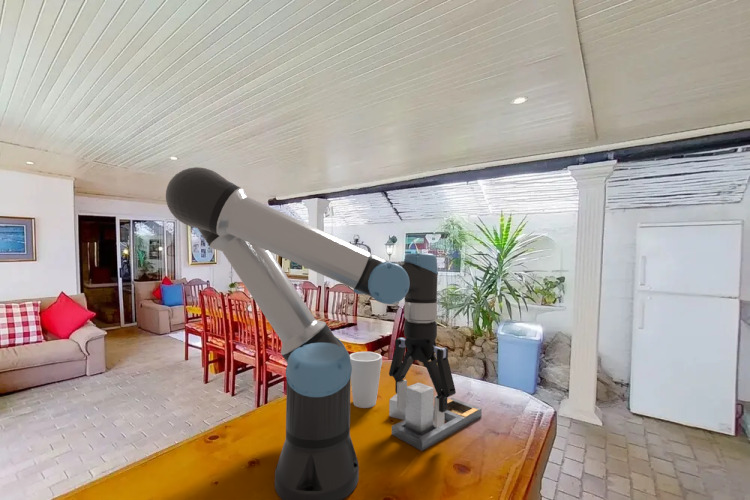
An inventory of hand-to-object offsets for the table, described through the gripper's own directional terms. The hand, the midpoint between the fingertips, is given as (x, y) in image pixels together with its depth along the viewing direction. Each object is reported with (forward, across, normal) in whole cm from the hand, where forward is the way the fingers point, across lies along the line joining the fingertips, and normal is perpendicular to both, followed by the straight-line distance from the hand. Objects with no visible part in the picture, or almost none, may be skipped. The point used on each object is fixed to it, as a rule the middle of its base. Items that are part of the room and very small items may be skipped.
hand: (419, 416), depth 79 cm
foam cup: (+5, +22, -2) cm, 22 cm away
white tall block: (+4, 0, 0) cm, 4 cm away
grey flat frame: (+4, 0, -8) cm, 9 cm away
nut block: (+5, +11, -8) cm, 14 cm away
